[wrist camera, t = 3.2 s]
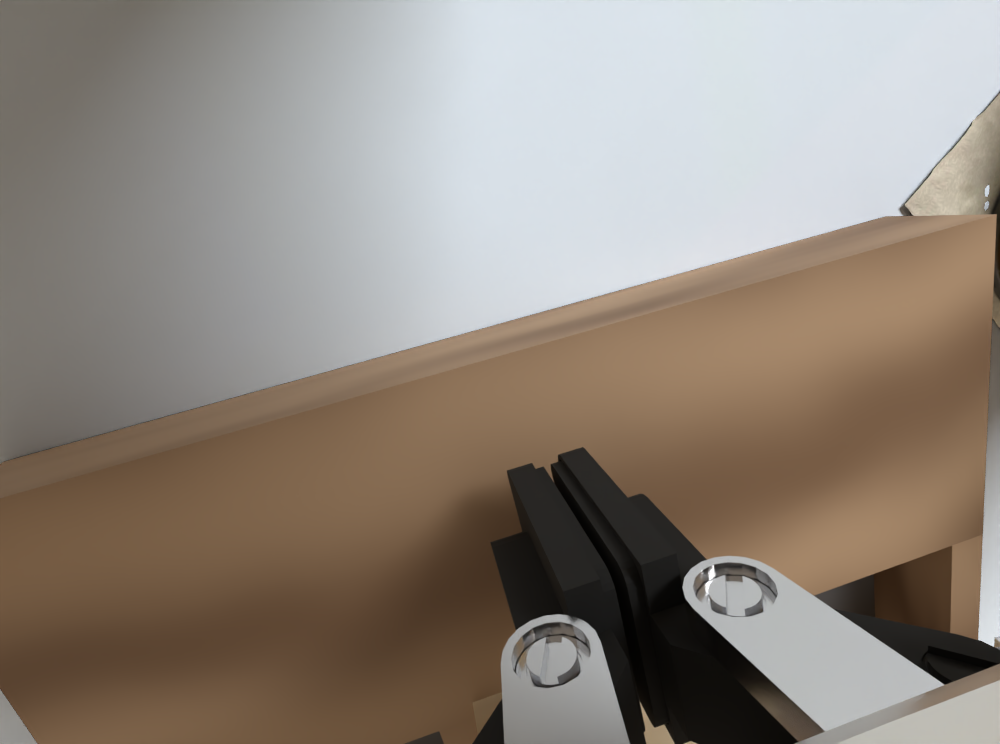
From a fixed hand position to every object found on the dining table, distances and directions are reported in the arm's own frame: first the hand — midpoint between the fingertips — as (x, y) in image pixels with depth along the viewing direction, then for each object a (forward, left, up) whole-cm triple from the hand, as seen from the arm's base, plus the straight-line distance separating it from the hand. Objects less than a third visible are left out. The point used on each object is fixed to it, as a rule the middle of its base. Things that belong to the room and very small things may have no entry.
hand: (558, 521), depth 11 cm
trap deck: (+9, 0, -4) cm, 10 cm away
